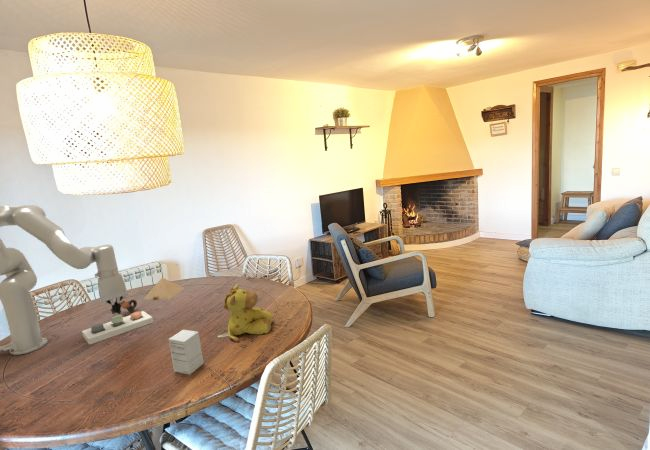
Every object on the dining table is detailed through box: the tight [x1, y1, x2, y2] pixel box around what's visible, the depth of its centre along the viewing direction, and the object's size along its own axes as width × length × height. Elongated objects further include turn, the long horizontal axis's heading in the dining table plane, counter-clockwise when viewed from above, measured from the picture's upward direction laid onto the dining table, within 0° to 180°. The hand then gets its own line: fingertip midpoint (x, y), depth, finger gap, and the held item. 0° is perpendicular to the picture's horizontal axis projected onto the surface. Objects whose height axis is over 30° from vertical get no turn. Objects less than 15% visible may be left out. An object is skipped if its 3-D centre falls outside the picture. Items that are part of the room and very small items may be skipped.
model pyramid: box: [143, 277, 186, 301], centre depth 209 cm, size 17×17×10 cm
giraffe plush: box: [217, 283, 274, 342], centre depth 156 cm, size 20×24×19 cm
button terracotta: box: [131, 311, 142, 321], centre depth 173 cm, size 5×5×4 cm
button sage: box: [110, 314, 124, 327], centre depth 167 cm, size 5×5×4 cm
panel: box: [81, 310, 154, 346], centre depth 168 cm, size 26×12×2 cm, turn 134°
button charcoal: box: [90, 323, 104, 334], centre depth 162 cm, size 5×5×4 cm
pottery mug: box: [110, 299, 138, 317], centre depth 184 cm, size 12×10×8 cm
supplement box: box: [168, 329, 204, 376], centre depth 130 cm, size 7×7×13 cm
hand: (117, 311), depth 166 cm, fingers closed
